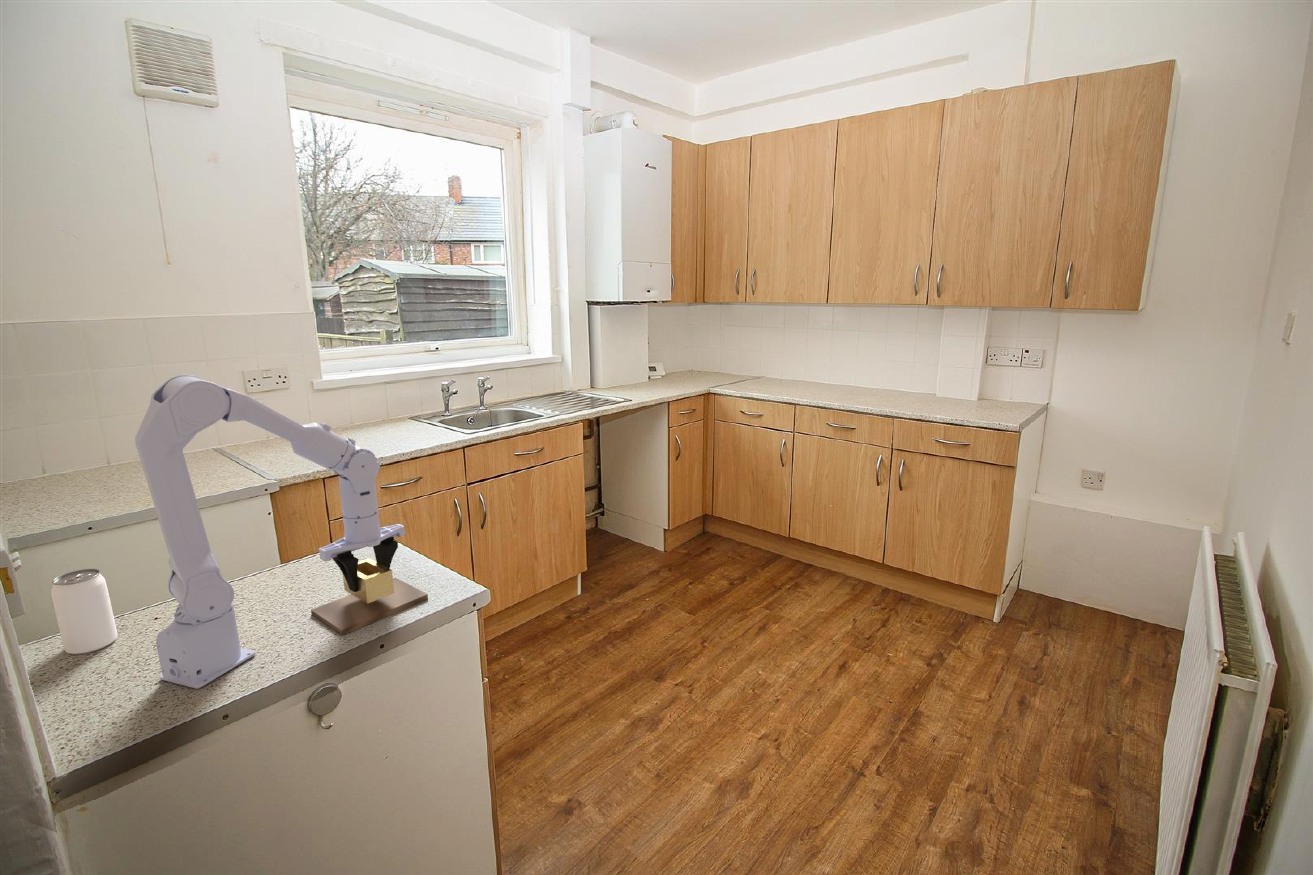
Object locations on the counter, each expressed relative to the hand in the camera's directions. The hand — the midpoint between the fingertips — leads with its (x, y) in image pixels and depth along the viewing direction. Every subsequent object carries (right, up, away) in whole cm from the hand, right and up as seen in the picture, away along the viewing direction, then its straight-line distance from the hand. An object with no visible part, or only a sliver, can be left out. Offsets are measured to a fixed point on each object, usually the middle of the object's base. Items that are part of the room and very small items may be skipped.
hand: (368, 584), depth 113 cm
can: (-40, -7, -11) cm, 42 cm away
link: (0, -1, 0) cm, 2 cm away
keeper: (0, -4, +1) cm, 4 cm away
